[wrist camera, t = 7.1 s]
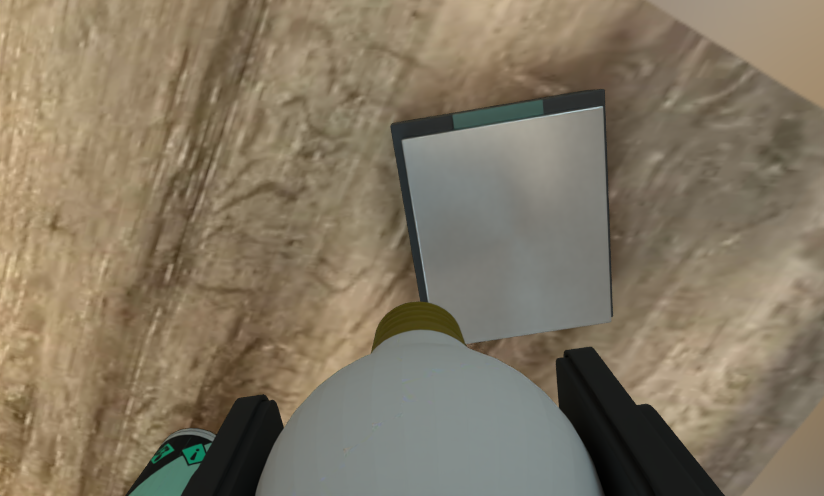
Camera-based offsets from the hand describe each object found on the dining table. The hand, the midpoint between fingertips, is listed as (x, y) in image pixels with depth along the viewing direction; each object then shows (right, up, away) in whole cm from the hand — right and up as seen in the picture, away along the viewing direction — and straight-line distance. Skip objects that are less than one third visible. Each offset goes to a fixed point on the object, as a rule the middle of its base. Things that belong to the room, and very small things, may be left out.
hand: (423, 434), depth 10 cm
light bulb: (0, +1, +5) cm, 5 cm away
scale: (+6, +6, +20) cm, 22 cm away
